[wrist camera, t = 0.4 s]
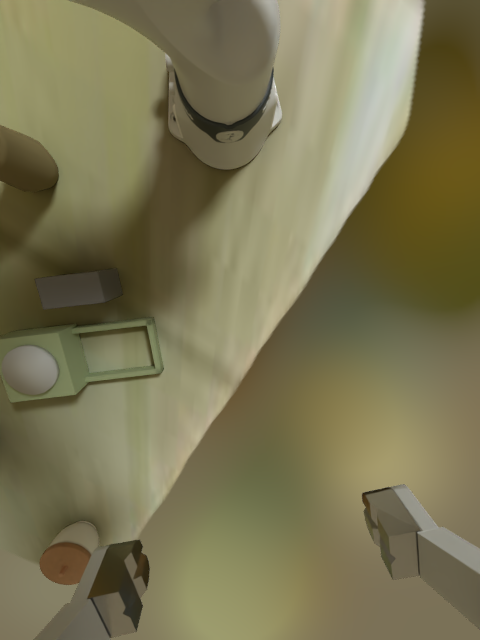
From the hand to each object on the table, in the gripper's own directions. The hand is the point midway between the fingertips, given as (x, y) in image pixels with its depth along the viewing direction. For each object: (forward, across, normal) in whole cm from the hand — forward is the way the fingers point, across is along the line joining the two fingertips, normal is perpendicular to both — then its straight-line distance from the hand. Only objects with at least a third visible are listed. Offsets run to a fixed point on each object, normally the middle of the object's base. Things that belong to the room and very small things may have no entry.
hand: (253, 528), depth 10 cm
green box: (+46, +31, +4) cm, 56 cm away
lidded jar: (+46, +46, +47) cm, 80 cm away
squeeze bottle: (+46, +27, -29) cm, 61 cm away
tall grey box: (+46, +25, -8) cm, 53 cm away
